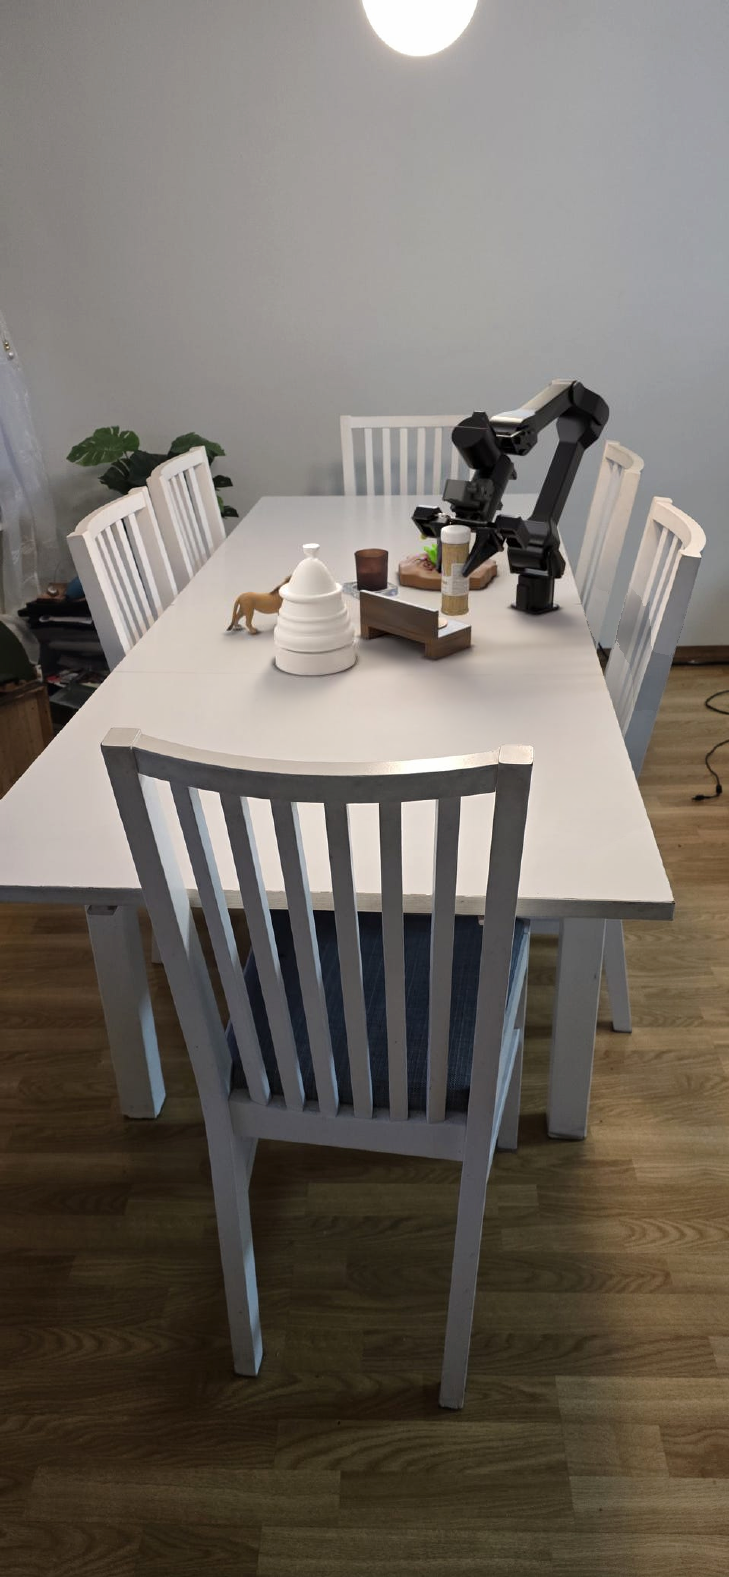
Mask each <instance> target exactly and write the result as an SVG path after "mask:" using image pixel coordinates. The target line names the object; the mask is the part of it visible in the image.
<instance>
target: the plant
mask: <svg viewBox="0 0 729 1577" xmlns="http://www.w3.org/2000/svg"><path fill="white" fill-rule="evenodd" d="M420 538H421V540H424V541H425V540H426V539H427V537H425V536H423V535H422V533H421V534H420ZM430 546H431V548H430V547H427V546H421V548H422V549H423V551H425V552H422V553H420V554H415V555H408V556H407V557H406V559H403V560H401V561H400V562H398V576H399V579H400V583H401V585H402V586H405V587H406V586H409V587H412V588H413V587H414V588H418V589H423V590H429V591H430V590H431V591H435V590H436V591H441V582H442V572H441V574H439V573H438V572H437V571H436V561H437V544H435V543H431V544H430ZM470 546H471V543H470V544H469V547H470ZM497 575H498V565H497V561H496V560H495V559H492V558H489V559H488V560H486V561H485V562H484V563H483V564H481V565H480V566H479V567H478V568H477V569H476V570H475V571H473V572H472V573H471V574H470V575H469V590H481V589H482V588H484V587H485V586H486V584H487V583H489V582H490V581H491V579H492V578H493V577H495V576H497Z"/></svg>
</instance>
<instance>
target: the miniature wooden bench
mask: <svg viewBox="0 0 729 1577" xmlns="http://www.w3.org/2000/svg"><path fill="white" fill-rule="evenodd" d="M358 595H359V623H360V624H359V625H360V637H361V638H364V639H367V640H370V639H373V638H375V637H378V636H382V635H385V634H388V633H390V634H393V635H396V636H400V637H403V638H405V639H409V640H412V641H414V642H415V641H416V642H418V643H423V644H425V645H424V651H425V653H424V657H425V658H427V659H429V660H433V661H436V660H438V659H440V658H443V657H446V656H448V655H451V654H454V653H457V652H458V651H462V650H464V649H466V648H469V647H471V646H472V625H470V624H467V623H463V622H460V621H456V620H452V619H449V618H447V617H442V616H440V611H439V609H435V608H431V607H428V606H424V605H421V604H417V603H413V602H411V601H410V602H409V601H405V600H403V599H399V598H395V597H391V596H388V595H385V594H381V593H377V592H373V591H369V590H366V589H361V590H359V594H358Z"/></svg>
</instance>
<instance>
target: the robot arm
mask: <svg viewBox="0 0 729 1577" xmlns="http://www.w3.org/2000/svg"><path fill="white" fill-rule="evenodd" d="M609 418H610V407H609V404H607V402H606V400H605V399H604V398H603V397H602V396H601V395H600V394H599V393H596V392H594V391H593V390H591V389H589V388H587V387H586V386H584V384H583V383H582V382H581V381H578V380H577V379H565V378H564V379H562V378H557V379H555V380H551V381H550V383H549V384H548V387H546V388H545V389H544V390H542V391H541V392H540V393H539V394H537V395H535V396H534V397H533V398H532V399H530V400H529V401H528V402H526V403H525V404H524V405H522V406H521V407H520V408H518V409H514V410H510V411H504V412H501V413H498V414H496V415H493V416H491V418H490V419H489V416H488V414H487V412H486V411H482V410H481V411H480V410H474V411H473V412H472V415H471V416H469V417H466V418H465V419H463V420H461V421H460V422H458V423H457V425H456V426H454V427H453V429H452V432H451V436H450V438H451V442H452V444H453V445H454V447H455V449H456V450H457V452H458V453H459V455H460V456H461V458H462V460H463V462H464V464H465V465H466V466H467V467H468V468H469V469H471V470H473V472H472V474H471V477H470V479H469V480H465V479H464V480H463V479H452V478H447V479H445V482H444V487H443V488H444V489H443V492H442V497H441V501H442V502H447V503H449V504H450V506H449V509H450V511H451V512H452V513H454V514H455V516H450V515H449V514H446V513H444V512H443V511H442V509H441V508H440V506H435V505H428V504H427V505H426V504H419V505H417V506H415V508H414V509H413V512H412V514H411V516H410V519H411V521H412V522H413V524H414V525H415V526H416V528H417V529H418V530H419V532H420V533H421V534H422V535H423V536H425V537H427V538H428V539H434V540H435V539H436V545H437V561H436V571H437V572H438V573H439V574H441V572H442V541H441V529H442V528H443V527H446V526H451V525H462V526H467V527H469V528H470V529H471V534H475V537H474V538H475V539H474V543H473V545H472V547H471V549H470V551H469V556H468V559H467V561H466V563H465V566H464V569H463V572H462V575H463V577H464V578H466V577H468V576H469V575H470V574H471V573H472V572H473V571H475V570H476V569H477V568H478V567H479V566H480V565H481V564H483V563H484V562H485V561H486V560H488V559H491V558H492V557H493V556H495V555H496V554H497V553H503V552H504V551H505V547H504V545H505V543H506V545H507V549H506V556H507V561H508V562H507V563H508V570H509V573H510V574H511V575H512V574H513V575H517V584H516V591H515V602H511V603H510V607H511V608H514V609H517V610H520V611H522V612H525V613H529V614H532V615H538V614H542V613H545V612H548V611H549V612H550V611H553V610H556V609H560V604H559V603H555V602H554V600H555V584H556V580H560V579H562V578H563V576H564V574H565V571H566V566H567V562H566V560H565V558H564V556H563V555H562V553H561V551H560V546H561V538H560V534H559V528H558V525H559V521H560V519H561V516H562V514H563V511H564V508H565V506H566V503H567V500H568V497H569V495H570V492H571V490H572V486H573V484H574V481H575V478H576V475H577V472H578V470H579V467H580V465H581V461H582V459H583V458H584V454H585V451H586V450H587V449H588V448H590V447H591V446H592V445H593V444H595V443H596V442H597V441H598V440H599V439H600V437H601V435H602V433H603V431H604V428H605V426H606V425H607V424H608V421H609V420H610V419H609ZM554 421H555V429H556V432H557V438H558V441H557V444H556V447H555V449H554V453H553V455H552V458H551V461H550V463H549V466H548V469H547V471H546V474H545V477H544V480H543V482H542V485H541V488H540V490H539V493H538V495H537V498H536V502H535V504H534V507H533V510H532V512H531V515H530V516H529V517H527V519H523V518H522V516H521V515H515V514H506V513H499V514H497V515H496V513H497V511H500V512H501V511H502V509H503V507H504V504H503V502H502V498H503V496H504V494H505V491H506V489H507V486H508V483H509V481H517V479H518V472H517V470H516V468H515V463H514V462H513V461H512V459H511V458H510V456H516V457H526V456H527V455H528V454H529V453H530V452H531V451H532V449H534V447H536V445H537V444H538V442H539V440H538V438H539V436H538V435H539V433H540V432H541V431H543V429H545V428H546V427H548V426H549V425H550V424H551V423H552V422H554ZM495 515H496V516H495ZM494 518H495V519H494ZM427 538H426V539H427Z"/></svg>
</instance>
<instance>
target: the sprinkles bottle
mask: <svg viewBox="0 0 729 1577" xmlns="http://www.w3.org/2000/svg"><path fill="white" fill-rule="evenodd" d="M471 536H472V533H471V529H470V528H469V527H467V526H462V525H451V526H446V527H443V528H442V529H441V541H442V582H441V590H440V591H441V607H440V612H441V614H443V615H446V616H450V617H458V616H464V615H467V614H468V613H469V610H470V608H469V593H470V589H469V576H468V577H466V578H464V577H463V575H462V572H463V569H464V566H465V563H466V561H467V559H468V556H469V554H470V546H469V544H470V545H471V540H472V537H471Z"/></svg>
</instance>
